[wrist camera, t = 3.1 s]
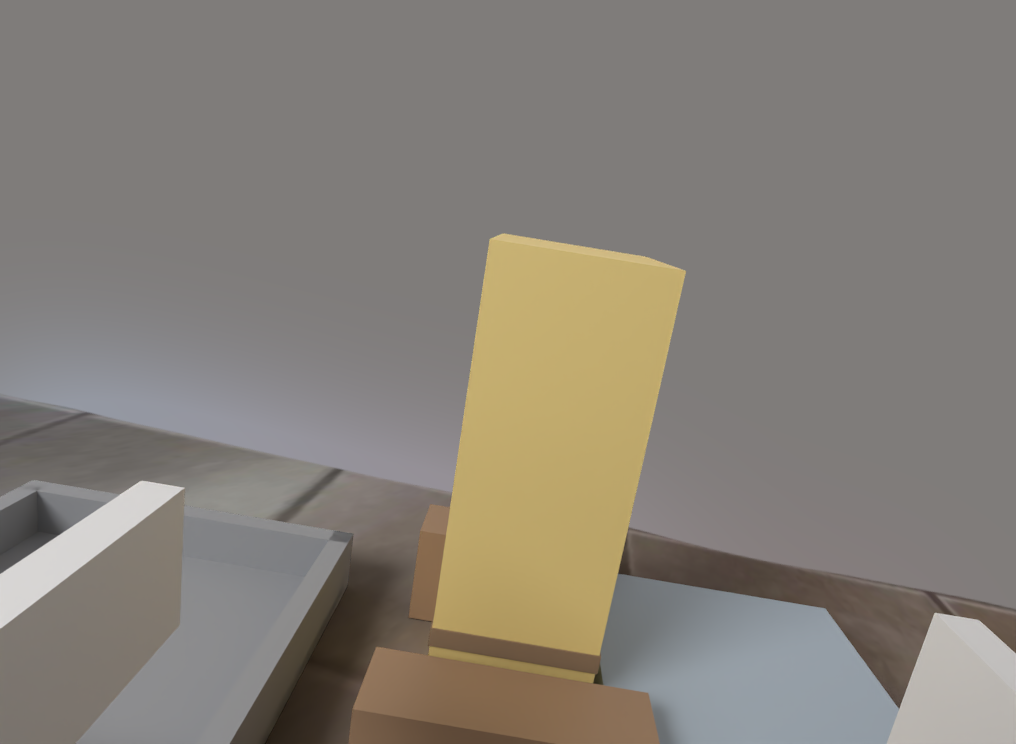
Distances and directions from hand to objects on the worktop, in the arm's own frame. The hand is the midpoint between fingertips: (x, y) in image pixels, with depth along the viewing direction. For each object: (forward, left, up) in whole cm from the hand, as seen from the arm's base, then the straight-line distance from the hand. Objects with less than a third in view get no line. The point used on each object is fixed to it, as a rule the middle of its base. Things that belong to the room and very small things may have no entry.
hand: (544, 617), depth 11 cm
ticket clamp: (-5, -9, -10) cm, 15 cm away
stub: (0, -10, -10) cm, 14 cm away
